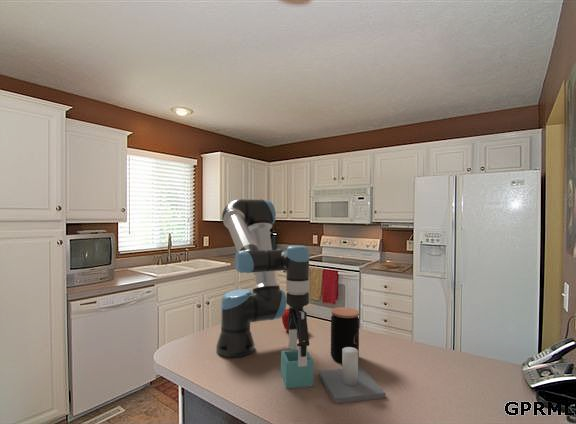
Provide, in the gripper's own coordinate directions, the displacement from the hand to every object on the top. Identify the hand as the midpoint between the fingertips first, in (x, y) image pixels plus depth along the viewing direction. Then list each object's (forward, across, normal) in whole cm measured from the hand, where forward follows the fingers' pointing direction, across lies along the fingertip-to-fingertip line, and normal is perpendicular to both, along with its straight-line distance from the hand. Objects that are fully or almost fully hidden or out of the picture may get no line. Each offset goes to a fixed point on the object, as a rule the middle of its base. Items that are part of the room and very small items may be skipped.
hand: (297, 356), depth 103 cm
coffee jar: (+8, +13, -22) cm, 26 cm away
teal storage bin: (+8, +1, 0) cm, 8 cm away
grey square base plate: (+8, -6, -16) cm, 19 cm away
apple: (+7, +44, -8) cm, 45 cm away
